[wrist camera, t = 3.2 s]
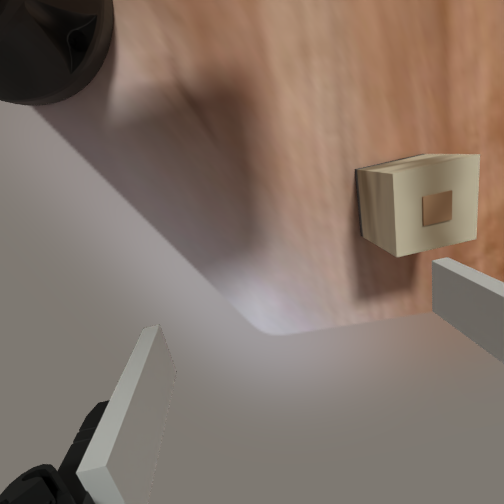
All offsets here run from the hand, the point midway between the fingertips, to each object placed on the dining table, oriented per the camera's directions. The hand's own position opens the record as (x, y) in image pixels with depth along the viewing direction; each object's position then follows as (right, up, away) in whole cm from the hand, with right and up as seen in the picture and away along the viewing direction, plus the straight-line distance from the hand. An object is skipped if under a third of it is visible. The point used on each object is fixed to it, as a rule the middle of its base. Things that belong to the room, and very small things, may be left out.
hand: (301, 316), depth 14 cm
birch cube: (+12, +9, +17) cm, 22 cm away
